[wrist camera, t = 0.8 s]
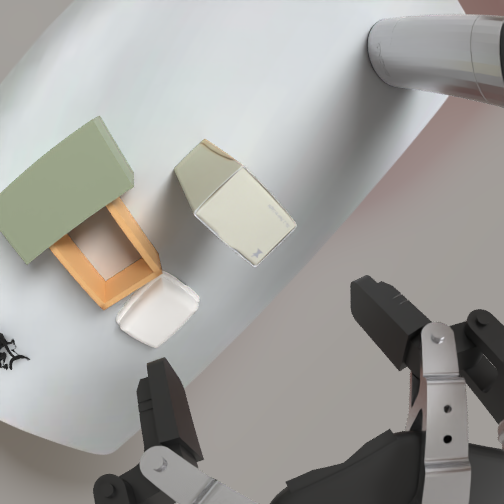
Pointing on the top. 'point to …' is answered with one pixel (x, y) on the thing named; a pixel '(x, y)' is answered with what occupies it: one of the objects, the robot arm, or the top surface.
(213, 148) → the skincare box
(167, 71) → the top surface
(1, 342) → the creature
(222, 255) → the top surface
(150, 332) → the soap
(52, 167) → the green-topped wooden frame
